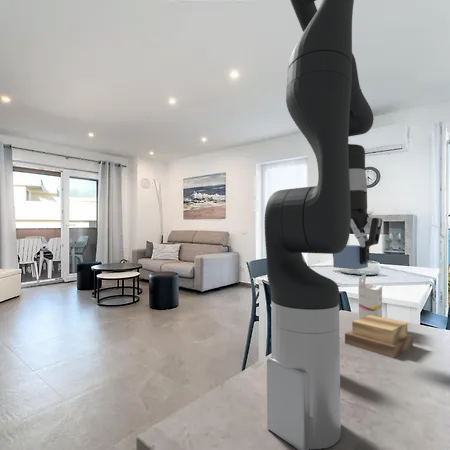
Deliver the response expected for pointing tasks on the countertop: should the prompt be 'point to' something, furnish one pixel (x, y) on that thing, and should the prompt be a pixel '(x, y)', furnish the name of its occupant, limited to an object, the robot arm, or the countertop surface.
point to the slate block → (349, 258)
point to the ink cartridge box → (369, 299)
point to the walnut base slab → (379, 344)
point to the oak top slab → (380, 329)
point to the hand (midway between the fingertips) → (350, 262)
